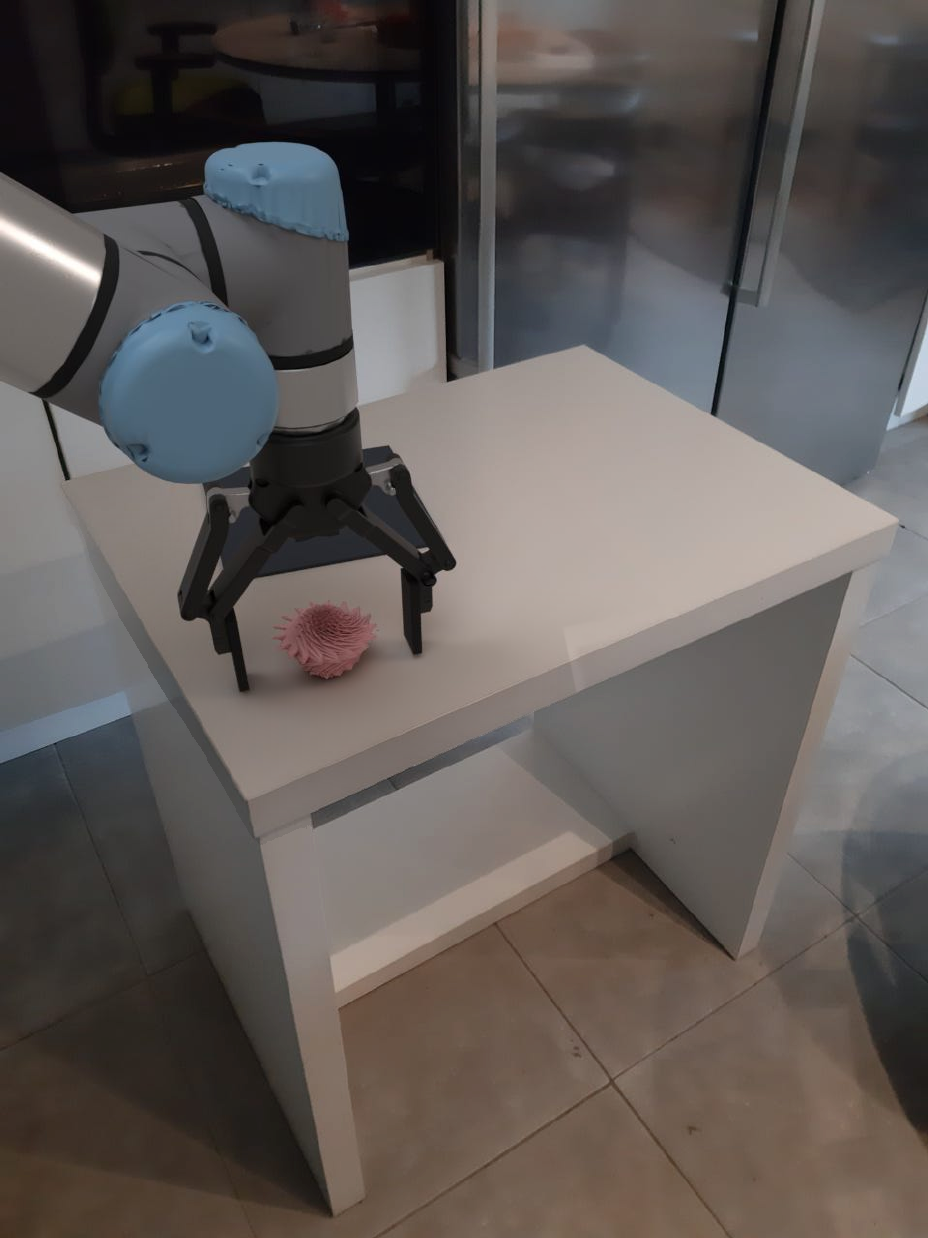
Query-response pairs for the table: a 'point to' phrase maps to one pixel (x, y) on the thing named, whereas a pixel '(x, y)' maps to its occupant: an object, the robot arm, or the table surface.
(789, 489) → the table surface
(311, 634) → the flower
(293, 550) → the mat
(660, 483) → the table surface
